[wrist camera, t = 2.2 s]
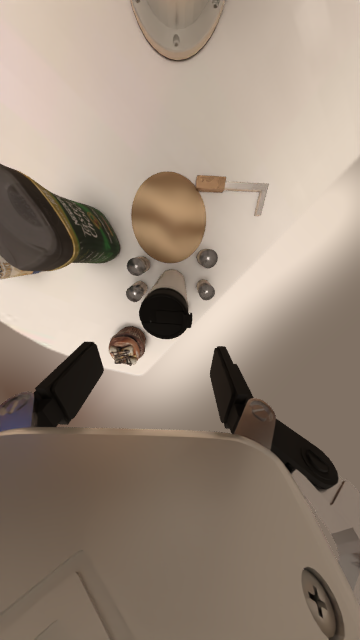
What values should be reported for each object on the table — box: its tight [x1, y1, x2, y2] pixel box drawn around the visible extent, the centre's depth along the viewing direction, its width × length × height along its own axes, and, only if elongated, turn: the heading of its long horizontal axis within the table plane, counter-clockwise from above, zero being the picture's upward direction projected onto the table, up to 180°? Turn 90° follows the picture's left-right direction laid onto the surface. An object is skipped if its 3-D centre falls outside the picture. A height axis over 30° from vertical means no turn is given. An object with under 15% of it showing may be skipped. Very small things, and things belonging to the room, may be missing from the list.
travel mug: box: [139, 269, 192, 339], centre depth 25 cm, size 6×7×20 cm
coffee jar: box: [0, 164, 120, 271], centre depth 21 cm, size 10×8×19 cm
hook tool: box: [196, 175, 269, 216], centre depth 25 cm, size 13×5×2 cm, turn 88°
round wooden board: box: [131, 172, 206, 263], centre depth 28 cm, size 15×15×1 cm
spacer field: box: [126, 249, 218, 302], centre depth 31 cm, size 16×19×6 cm
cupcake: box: [109, 327, 146, 366], centre depth 37 cm, size 10×10×10 cm
